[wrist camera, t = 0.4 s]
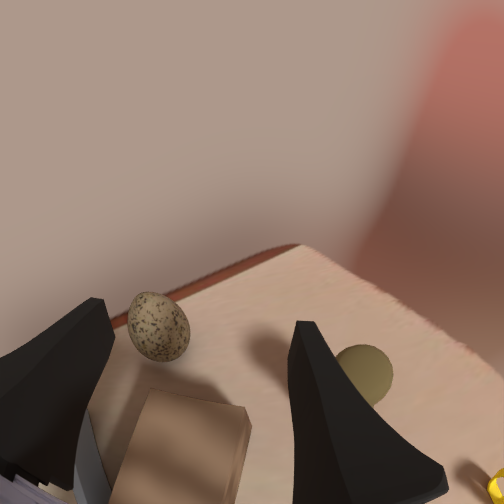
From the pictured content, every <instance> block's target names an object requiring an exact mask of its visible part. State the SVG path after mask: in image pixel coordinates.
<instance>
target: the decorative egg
mask: <svg viewBox="0 0 504 504" xmlns="http://www.w3.org/2000/svg"><path fill="white" fill-rule="evenodd" d="M128 330H129V334H130V337H131V340H132V342H133V344H134V345H135V347H136V348H137V349H138V350H139V352H141V353H142V354H143V355H144V356H146V357H147V358H149V359H151V360H154V361H158V362H168V361H172V360H175V359H176V358H178V357H179V356H181V355H182V354H183V353H184V351H185V350H186V348H187V346H188V344H189V340H190V326H189V323H188V320H187V317H186V315H185V314H184V312H183V311H182V309H181V308H180V307H179V306H178V305H177V304H176V303H175V302H174V301H172V300H171V299H169V298H168V297H166V296H164V295H161V294H158V293H154V292H143V293H140V294H138V295H137V296H136V297H135V299H134V300H133V302H132V304H131V306H130V309H129V313H128Z"/></svg>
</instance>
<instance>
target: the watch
mask: <svg viewBox="0 0 504 504" xmlns="http://www.w3.org/2000/svg"><path fill="white" fill-rule="evenodd" d="M499 477H504V468H503V469H501V470H499V471H498V472H497V473H496V475H495V476H494V477H493V478H492V479H491V480H490V481H489V483H488V486H487V491H488V493H489V495H490V497H491V499H492V501H493V503H494V504H504V496H502V494H501V492H500V490H499V488H498V486H497V484H496V480H497V478H499Z"/></svg>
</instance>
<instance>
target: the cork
mask: <svg viewBox="0 0 504 504" xmlns="http://www.w3.org/2000/svg"><path fill="white" fill-rule="evenodd" d="M335 358H336V360H337V361H338V363H339V364H340V366H341V367H342V369H343V370H344V372H345V373H346V375H347V376H348V378H349V379H350V380H351V382H352V383H353V384H354V386H355V387H356V388H357V390H358V391H359V392H360V394H361V395H362V396H363V397H364V399H365V400H366V401H367V402H368V403H369V404H370V406H371V407H372V408H373V407H374V405H375V404H376V403H378V402H379V401H380V400H381V399H383V398H384V396H385V395H386V394H387V392H388V390H389V389H390V387H391V384H392V380H393V368H392V364H391V362H390V360H389V358H388V357H387V356H386V355H385V354H384V353H383V352H382V351H381V350H380V349H378V348H376V347H374V346H370V345H355V346H351V347H348V348H346V349H344V350H343V351H341V352H340V353H339V354H338V355H337V356H336V357H335Z"/></svg>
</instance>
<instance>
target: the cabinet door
mask: <svg viewBox="0 0 504 504" xmlns="http://www.w3.org/2000/svg"><path fill="white" fill-rule="evenodd" d="M73 492H74V495H75V498H76V501H77V504H108V503H109V500H110V497H111V494H112V492H111V489H110V486H109V483H108V481H107V478H106V475H105V472H104V469H103V466H102V463H101V459H100V456H99V453H98V449H97V446H96V442H95V438H94V434H93V430H92V426H91V422H90V418H89V413H88V409H86V411H85V415H84V419H83V422H82V426H81V430H80V435H79V440H78V445H77V451H76V459H75V468H74V488H73Z"/></svg>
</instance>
